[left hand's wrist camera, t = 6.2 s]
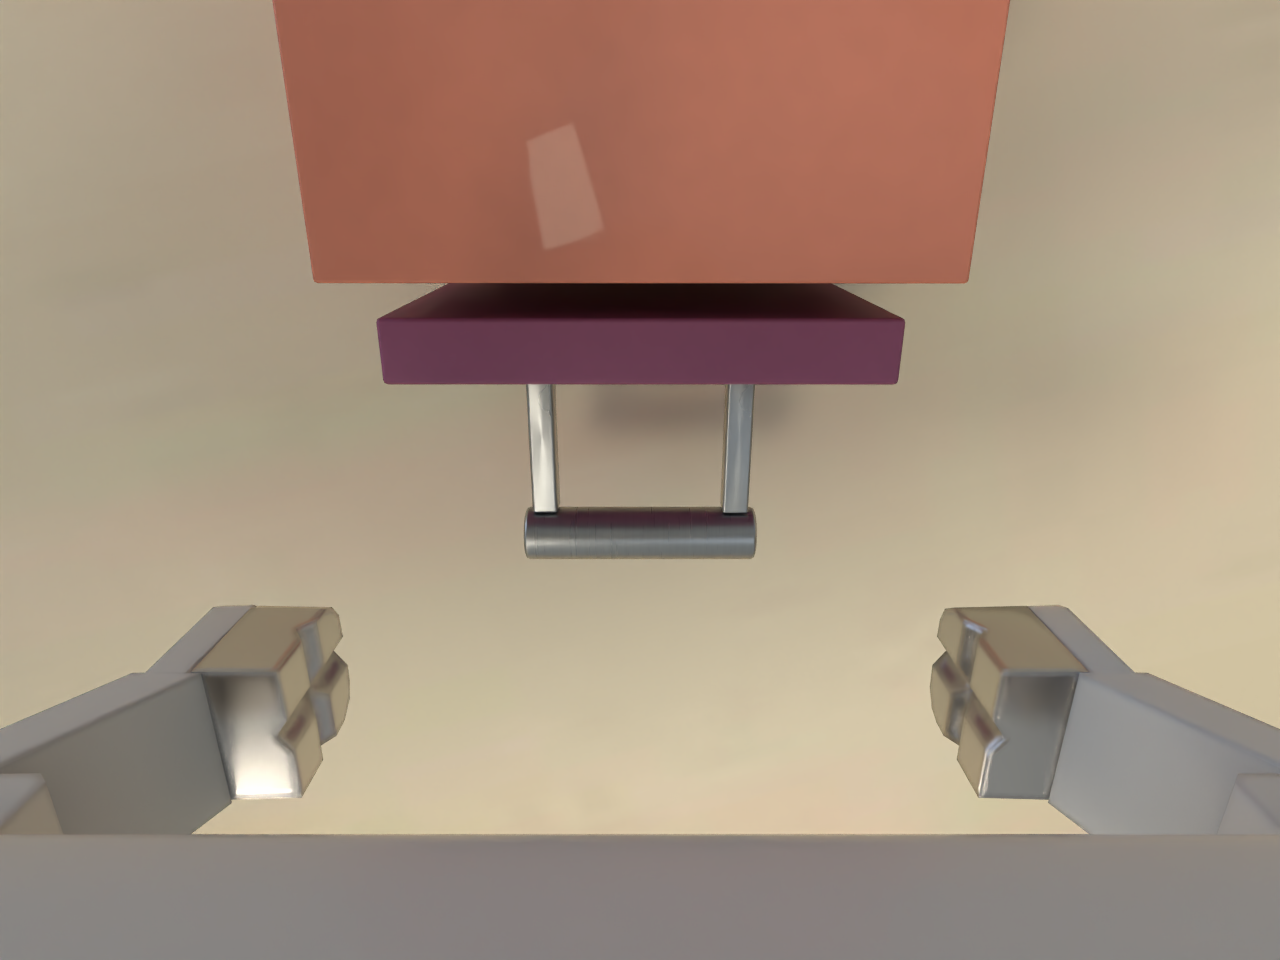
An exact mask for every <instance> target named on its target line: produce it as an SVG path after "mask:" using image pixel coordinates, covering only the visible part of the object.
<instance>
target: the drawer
mask: <svg viewBox="0 0 1280 960" xmlns="http://www.w3.org/2000/svg"><path fill="white" fill-rule="evenodd" d="M376 323H377V332H378V340H379V348H380V356H381V365H382V373H383V380H384V382H385V383H386V384H526V391H527V409H528V428H529V447H530V466H531V484H532V503H533V507H530V508H528V509H527V511H526V515H525V521H524V547H525V553H526V556H527V558H529V559H751V558H753V557H754V555H755V551H756V543H757V526H756V516H755V512H754V510H753V508H751V507H748V500H749V482H750V464H751V446H752V428H753V410H754V391H755V384H896V383H897V381H898V377H899V369H900V361H901V352H902V344H903V336H904V328H905V320H904V319H903V318H901V317H899V316H897V315H894V314H892V313H890V312H888V311H886V310H884V309H882V308H880V307H878V306H876V305H874V304H872V303H870V302H868V301H866V300H864V299H862V298H860V297H858V296H856V295H854V294H852V293H850V292H848V291H846V290H844V289H842V288H840V287H838V286H836V285H833V284H831V283H449V284H447V285H445V286H443V287H441V288H439V289H437V290H435V291H433V292H431V293H429V294H427V295H425V296H423V297H421V298H419V299H417V300H415V301H413V302H411V303H409V304H407V305H405V306H403V307H401V308H399V309H396V310H394V311H392V312H390V313H388V314H386V315H384V316H382V317H380V318H378V319H377V322H376ZM555 384H725V406H724V430H723V455H722V479H721V507H559V504H560V490H559V465H558V440H557V414H556V389H555Z"/></svg>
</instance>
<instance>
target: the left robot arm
mask: <svg viewBox="0 0 1280 960" xmlns="http://www.w3.org/2000/svg"><path fill="white" fill-rule="evenodd" d="M342 637H343V635H342V629H341V624H340V619H339V615H338V614H337V612H336V611H335V610H334V609H333V608H332V607H295V606H255V605H237V606H219V607H213V608H212V609H211V610H210V611H209V612H208V613H207V614H206V615H205V616H204V617H203V618H202V619H201V620H199V621H198V622H197V623H196V624H195V625H194V626H193V627H192V628H191V629H190V630H189V631H188V632H187V633H186V634H185V635H184V636H183V637H182V638H181V639H180V640H179V641H178V642H177V643H176V644H175V645H173V646H172V647H171V648H170V649H169V650H168V651H167V652H166V653H165V654H164V655H163V656H162V657H161V658H160V659H159V660H158V661H157V662H156V663H155V664H154V665H153V666H152V667H151V668H150V669H149V670H148V671H146V672H145V673H131V674H129V675H126V676H124V677H122V678H119V679H117V680H115V681H112V682H110V683H108V684H105V685H103V686H100V687H98V688H96V689H93V690H91V691H89V692H86V693H84V694H82V695H79V696H77V697H75V698H72V699H70V700H68V701H65V702H63V703H60V704H58V705H56V706H53V707H51V708H49V709H46V710H44V711H42V712H39V713H37V714H35V715H32V716H30V717H27V718H25V719H23V720H20V721H18V722H16V723H13V724H11V725H9V726H6V727H4V728H2V729H0V960H1280V729H1278V728H1276V727H1273V726H1271V725H1269V724H1266V723H1264V722H1262V721H1259V720H1257V719H1255V718H1252V717H1250V716H1248V715H1245V714H1243V713H1241V712H1238V711H1236V710H1233V709H1231V708H1229V707H1226V706H1224V705H1222V704H1219V703H1217V702H1215V701H1212V700H1210V699H1208V698H1205V697H1203V696H1201V695H1198V694H1196V693H1194V692H1191V691H1189V690H1186V689H1184V688H1182V687H1179V686H1177V685H1175V684H1172V683H1170V682H1168V681H1165V680H1163V679H1161V678H1158V677H1156V676H1154V675H1151V674H1149V673H1135V672H1134V671H1133V670H1132V669H1130V668H1129V667H1128V666H1127V665H1126V664H1125V663H1124V662H1123V661H1122V660H1121V659H1120V658H1119V657H1118V656H1117V655H1116V654H1115V653H1114V652H1113V651H1112V650H1111V649H1110V648H1109V647H1108V646H1107V645H1106V644H1105V643H1104V642H1103V641H1101V640H1100V639H1099V638H1098V637H1097V636H1096V635H1095V634H1094V633H1093V632H1092V631H1091V630H1090V629H1089V628H1088V627H1087V626H1086V625H1085V624H1084V623H1083V622H1082V621H1081V620H1080V619H1079V618H1078V617H1077V616H1076V615H1075V614H1073V613H1072V612H1071V611H1070V610H1069V609H1068V608H1066V607H1063V606H1060V605H1044V606H1004V607H963V608H948V609H945V610H944V612H943V614H942V617H941V619H940V623H939V629H938V634H937V637H938V639H939V640H940V642H941V643H942V645H943V646H944V648H945V649H946V652H945V653H944V654H943V655H942V656H941V657H940V658H939V659H938V660H937V661H936V662H935V663H934V664H933V665H932V674H931V682H930V693H931V704H932V709H933V713H934V716H935V719H936V722H937V724H938V726H939V728H940V730H941V732H942V734H943V735H944V736H945V737H947V738H948V739H950V740H951V741H953V742H954V743H956V744H958V745H959V750H958V756H957V761H958V762H959V764H960V766H961V768H962V769H963V771H964V773H965V775H966V776H967V778H968V780H969V782H970V784H971V785H972V787H973V789H974V791H975V792H976V794H977V796H978V798H1010V799H1047V800H1049V801H1048V803H1049V804H1051V805H1052V806H1053V807H1055V808H1056V809H1057V810H1058V811H1060V812H1061V813H1062V814H1064V815H1065V816H1066V817H1068V818H1069V819H1070V820H1072V821H1073V822H1074V823H1075V824H1077V825H1078V826H1079V827H1081V828H1082V829H1083V830H1085V831H1086V832H1087V833H1089V834H192V833H193V832H194V831H196V830H197V829H198V828H200V827H201V826H202V825H203V824H205V823H206V822H207V821H209V820H210V819H211V818H213V817H214V816H215V815H217V814H218V813H219V812H220V811H222V810H223V809H224V808H226V807H227V806H228V805H230V804H231V802H232V801H231V800H233V799H268V798H302V796H303V794H304V792H305V791H306V789H307V787H308V785H309V784H310V782H311V780H312V778H313V777H314V775H315V773H316V771H317V769H318V768H319V766H320V764H321V762H322V761H323V756H322V750H321V745H322V744H324V743H326V742H327V741H329V740H330V739H332V738H333V737H335V736H336V735H337V734H338V732H339V730H340V728H341V726H342V724H343V722H344V720H345V716H346V712H347V707H348V703H349V699H350V679H349V672H348V665H347V664H346V663H345V662H344V661H343V660H342V659H341V658H340V657H339V656H338V655H337V654H336V653H335V652H334V649H335V648H336V646H337V645H338V643H339V642H340V640H341V639H342Z"/></svg>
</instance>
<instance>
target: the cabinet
mask: <svg viewBox="0 0 1280 960" xmlns="http://www.w3.org/2000/svg"><path fill="white" fill-rule="evenodd" d="M1009 4H1010V0H273V7H274V14H275V21H276V28H277V34H278V41H279V48H280V55H281V62H282V68H283V75H284V82H285V89H286V96H287V102H288V109H289V116H290V123H291V130H292V136H293V143H294V150H295V157H296V164H297V170H298V177H299V184H300V191H301V198H302V204H303V211H304V218H305V225H306V232H307V238H308V245H309V252H310V259H311V266H312V272H313V279H314V282H317V283H966V282H968V278H969V272H970V265H971V258H972V252H973V245H974V238H975V232H976V225H977V218H978V211H979V205H980V198H981V191H982V185H983V178H984V171H985V165H986V158H987V151H988V144H989V138H990V131H991V124H992V118H993V111H994V104H995V98H996V91H997V84H998V78H999V71H1000V64H1001V57H1002V51H1003V44H1004V37H1005V31H1006V24H1007V17H1008V11H1009Z"/></svg>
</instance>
